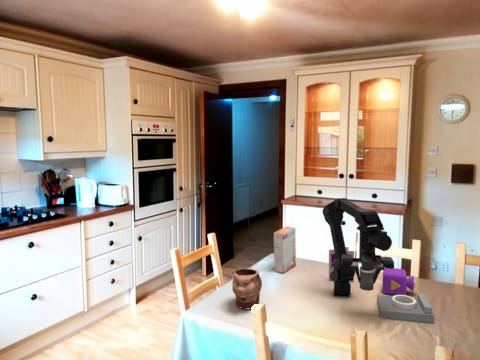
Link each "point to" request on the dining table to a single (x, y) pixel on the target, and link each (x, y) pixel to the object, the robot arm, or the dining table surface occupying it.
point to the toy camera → (397, 281)
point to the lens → (366, 279)
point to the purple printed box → (332, 258)
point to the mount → (405, 308)
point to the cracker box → (284, 249)
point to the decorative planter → (246, 287)
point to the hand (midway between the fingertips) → (366, 282)
